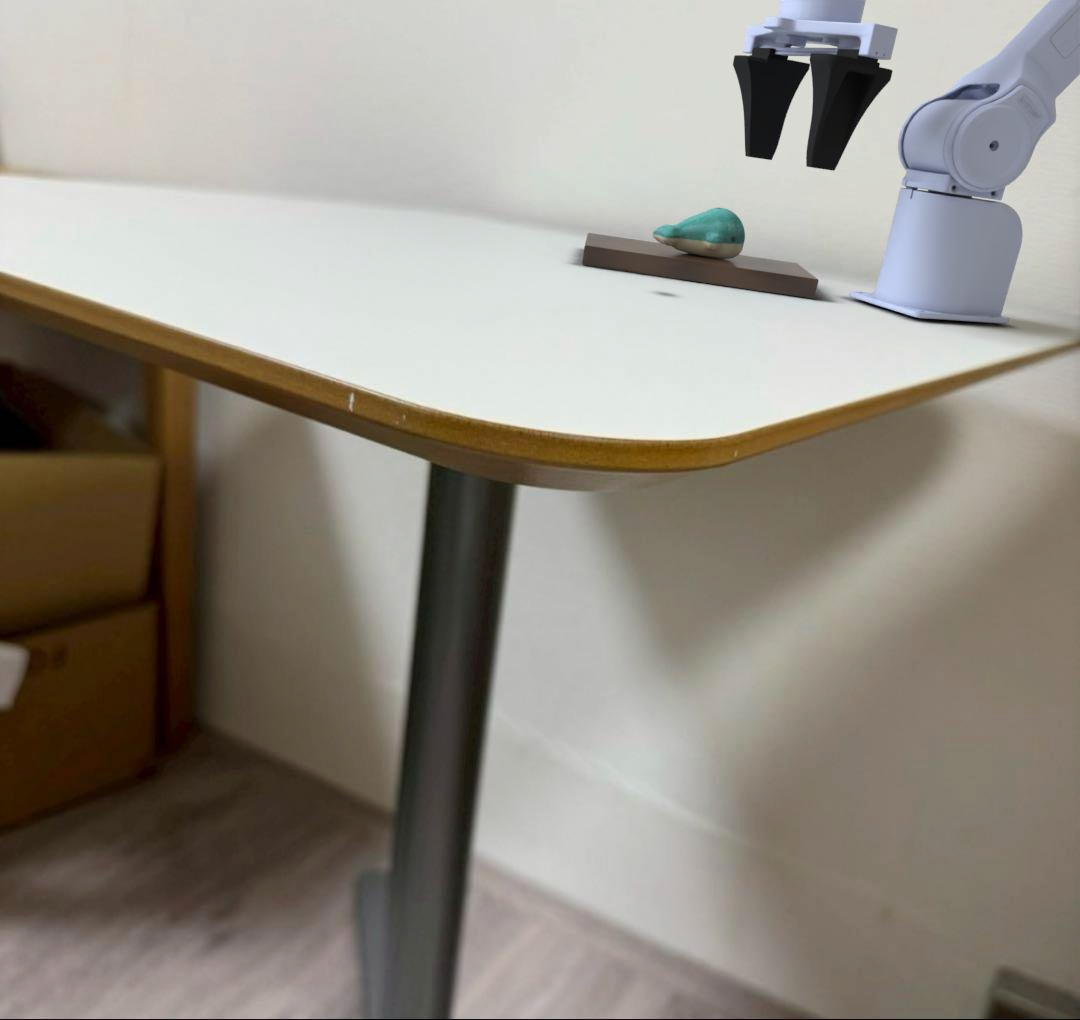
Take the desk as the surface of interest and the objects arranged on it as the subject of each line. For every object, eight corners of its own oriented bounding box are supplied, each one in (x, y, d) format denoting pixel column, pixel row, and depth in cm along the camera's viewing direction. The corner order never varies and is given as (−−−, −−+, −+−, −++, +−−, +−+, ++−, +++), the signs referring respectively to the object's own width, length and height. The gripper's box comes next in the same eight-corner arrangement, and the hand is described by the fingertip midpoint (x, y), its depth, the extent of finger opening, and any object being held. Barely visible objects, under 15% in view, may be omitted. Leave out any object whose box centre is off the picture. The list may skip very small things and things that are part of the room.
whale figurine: (753, 265, 83) (763, 215, 82) (667, 255, 81) (676, 205, 80) (722, 253, 89) (731, 206, 87) (641, 244, 87) (649, 196, 85)
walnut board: (793, 280, 90) (797, 263, 90) (814, 299, 81) (819, 279, 80) (585, 250, 90) (587, 232, 90) (581, 265, 81) (584, 245, 81)
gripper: (726, -48, 77) (690, 147, 82) (855, -64, 65) (804, 167, 69) (803, -29, 80) (765, 158, 85) (941, -41, 68) (887, 179, 72)
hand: (788, 163), depth 77 cm, fingers open, 7 cm apart
